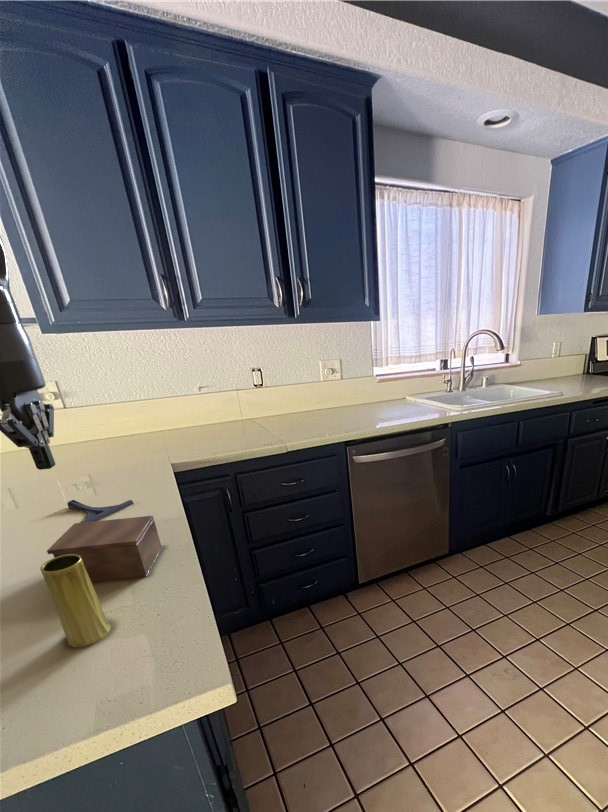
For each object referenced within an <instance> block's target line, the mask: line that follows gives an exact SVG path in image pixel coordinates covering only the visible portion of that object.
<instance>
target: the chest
mask: <svg viewBox="0 0 608 812" xmlns="http://www.w3.org/2000/svg"><path fill="white" fill-rule="evenodd" d="M155 521H156V520H155V519H153V521H152V522H151V524H150V525H149V527H148V528H147V530H146V531H145V533H144V534H143V536H142V538H141V539H140V541H139V542H138V544H137V545H128V546H119V547H110V548H101V549H91V550H82V551H73V552H64V553H55V554H52V555H53V558H55V557H58V556H62V555H67V554H77V555H79V556H80V557H81V558H82V561H83V564H84V566H85V569H86V571H87V573H88V576H89V578H90V581H91V583H92V584H95V583H96V584H97V583H103V582H113V581H120V580H129V579H136V578H137V579H138V578H145V577H148V574H149V573H150V572H151V569H152V567H153V565H154V563H155V562H156V560H157V558H158V556H159V554H160V553H161V551H162V549H163V547H162V543H161V539H160V536H159V532H158V528H157V525H156V522H155Z"/></svg>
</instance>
